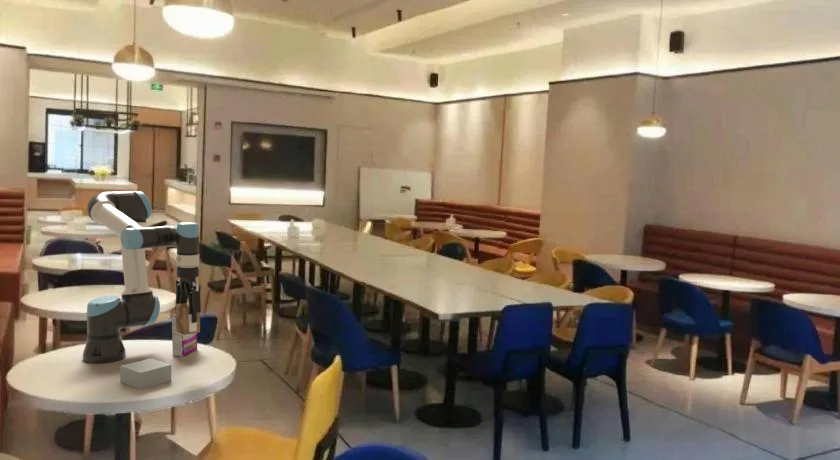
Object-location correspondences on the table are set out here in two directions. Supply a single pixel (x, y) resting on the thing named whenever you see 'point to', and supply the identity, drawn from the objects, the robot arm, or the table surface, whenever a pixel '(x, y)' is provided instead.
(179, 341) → the candy bar box
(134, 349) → the table surface
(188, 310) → the walnut block
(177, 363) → the table surface
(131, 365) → the slate base block
